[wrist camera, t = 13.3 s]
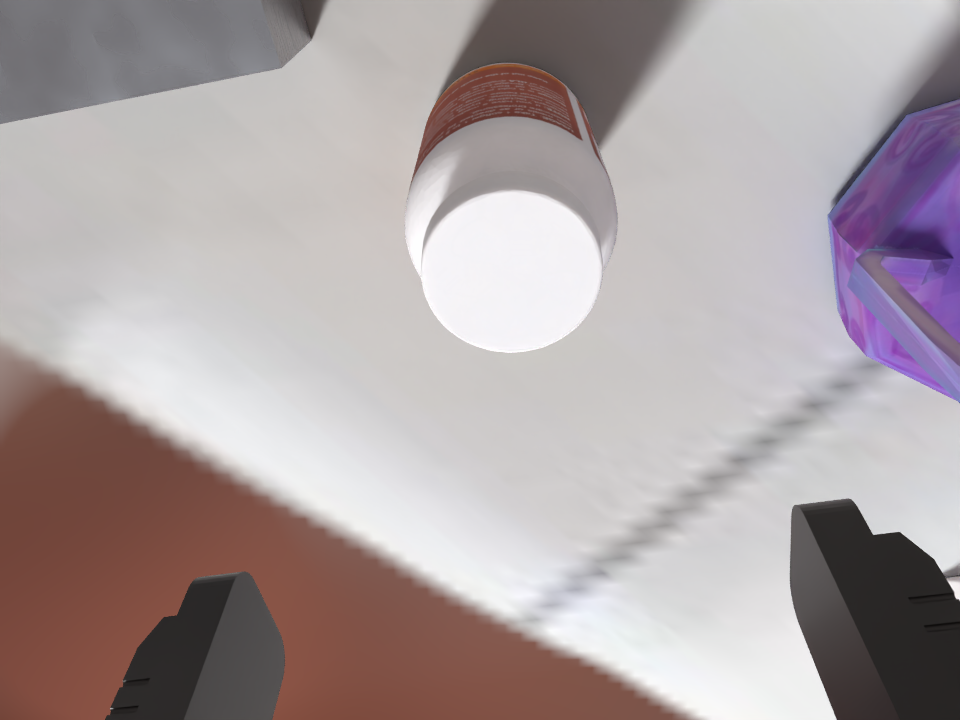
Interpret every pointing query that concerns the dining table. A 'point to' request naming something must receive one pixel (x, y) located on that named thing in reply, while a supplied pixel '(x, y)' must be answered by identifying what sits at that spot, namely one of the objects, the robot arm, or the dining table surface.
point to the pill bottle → (510, 209)
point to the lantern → (905, 251)
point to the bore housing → (135, 48)
